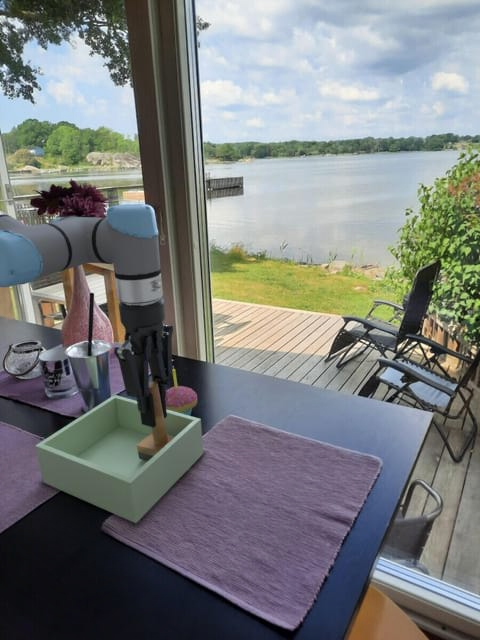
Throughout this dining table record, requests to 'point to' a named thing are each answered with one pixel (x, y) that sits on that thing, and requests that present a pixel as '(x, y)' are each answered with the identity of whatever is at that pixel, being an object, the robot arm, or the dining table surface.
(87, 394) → the tall metal cup
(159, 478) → the tub
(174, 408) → the cupcake
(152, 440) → the wooden stamp
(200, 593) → the dining table surface
